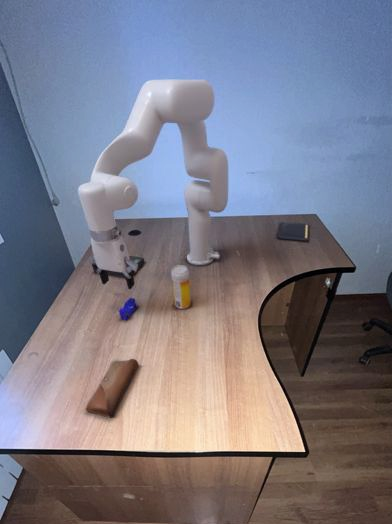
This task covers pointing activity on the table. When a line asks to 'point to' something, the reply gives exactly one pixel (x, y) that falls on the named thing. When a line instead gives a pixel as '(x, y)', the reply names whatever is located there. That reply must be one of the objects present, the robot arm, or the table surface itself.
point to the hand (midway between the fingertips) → (118, 284)
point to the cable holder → (128, 308)
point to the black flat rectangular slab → (293, 231)
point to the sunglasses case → (112, 388)
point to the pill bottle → (180, 286)
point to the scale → (135, 259)
